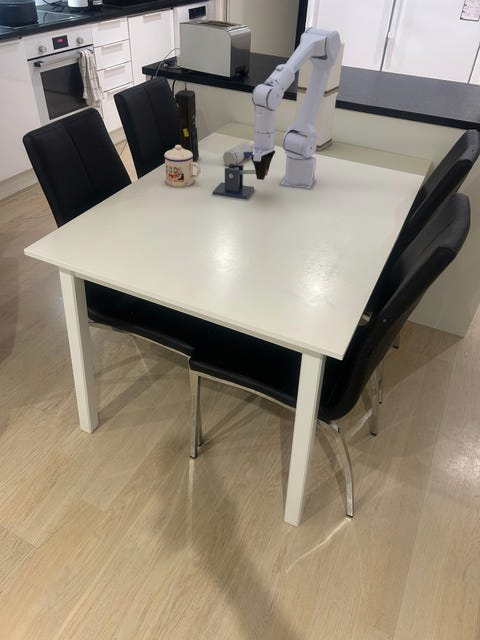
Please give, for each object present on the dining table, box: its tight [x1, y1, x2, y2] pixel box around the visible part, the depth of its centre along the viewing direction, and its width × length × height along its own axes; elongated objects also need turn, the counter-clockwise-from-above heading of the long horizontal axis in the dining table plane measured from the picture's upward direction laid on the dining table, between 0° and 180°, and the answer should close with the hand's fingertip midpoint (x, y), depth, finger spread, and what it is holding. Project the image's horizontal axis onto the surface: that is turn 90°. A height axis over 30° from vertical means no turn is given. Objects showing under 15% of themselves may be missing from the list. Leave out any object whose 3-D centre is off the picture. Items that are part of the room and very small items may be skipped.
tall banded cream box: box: [294, 42, 345, 152], centre depth 186 cm, size 11×11×35 cm
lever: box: [232, 167, 269, 177], centre depth 153 cm, size 12×3×3 cm, turn 73°
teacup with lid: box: [163, 144, 201, 187], centre depth 160 cm, size 12×9×12 cm
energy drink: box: [222, 142, 254, 167], centre depth 178 cm, size 5×5×12 cm
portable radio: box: [174, 82, 200, 163], centre depth 172 cm, size 8×6×25 cm
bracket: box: [212, 163, 255, 200], centre depth 156 cm, size 11×8×8 cm
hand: (262, 177), depth 152 cm, fingers closed on lever, 3 cm apart
